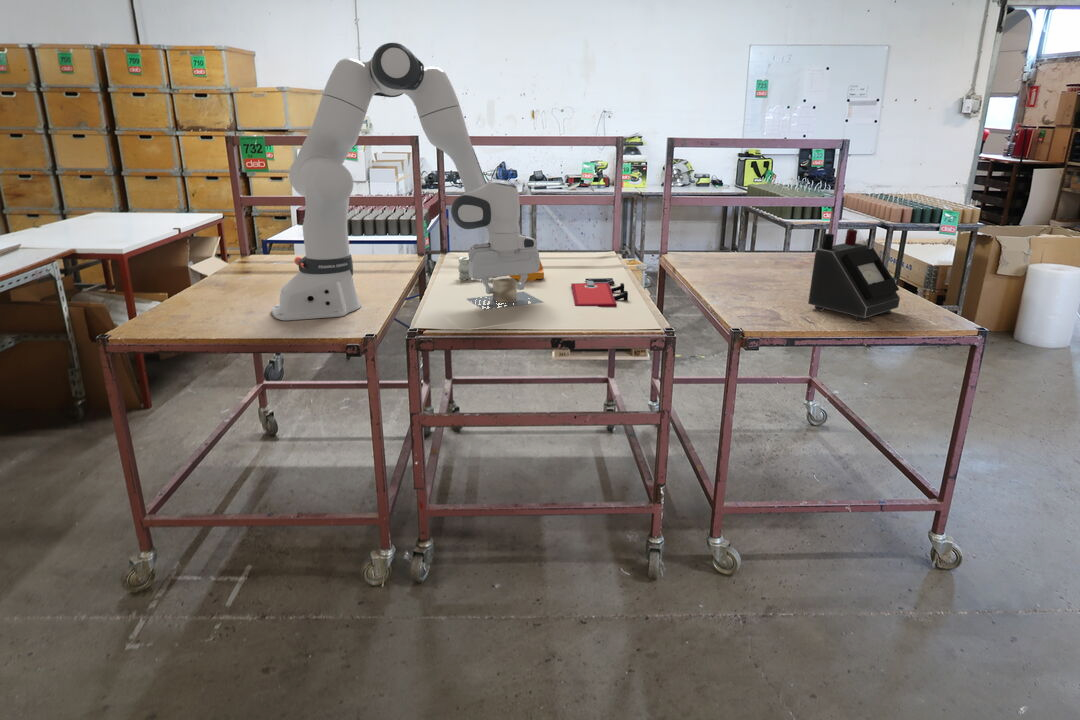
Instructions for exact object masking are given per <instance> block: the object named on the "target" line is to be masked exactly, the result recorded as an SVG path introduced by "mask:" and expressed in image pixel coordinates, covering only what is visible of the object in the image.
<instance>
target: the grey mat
mask: <svg viewBox="0 0 1080 720" xmlns="http://www.w3.org/2000/svg"><path fill="white" fill-rule="evenodd" d="M476 297H477V296H476ZM476 297H470V298H469V297H467V298H466V300H467V301H469V302H470V303H472V304H473V305H475V300H476V299H477V300H476V305H477V306H476V305H475V306H476V307H478V306H479V307H478V308H480V309H481V310H482V306H484V307H486V308H487V306H489V307H490V308H489V309H490V310H496V309H497V310H498V308H497V307H498V305H497V304H498V302H496V301H495V300H493V294H491V295H487V296H486V295H485V296H478V297H477V298H476ZM480 297H482V298H480ZM485 297H487V298H485ZM489 298H490V299H489ZM528 298H530V299H528ZM479 300H481V301H480V304H481V305H478V304H479ZM484 300H486V301H485V304H486V305H483V301H484ZM471 301H472V302H471ZM488 301H490V304H489V305H487V303H488ZM528 301H530V302H531V304H530V305H532V304H533V305H534V304H541V303H544V301H543V300H541V299H539V298H537V297H535V296H533V295H531V294H529V293H527V292H525V291H519V292H517V301H516V302H509V303H506V304H505V303H504V304H502V305H499V306H502V307H503V308H504V305H507V306H506V307H505V308H509V307H510V308H511V307H518V306H519V307H520V306H525V305H529V304H528ZM496 303H497V304H496ZM513 303H514V305H513ZM486 308H484V309H483V310H482V311H488V309H487V310H486ZM493 308H495V309H493ZM503 308H502V309H503Z"/></svg>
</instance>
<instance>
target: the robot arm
mask: <svg viewBox="0 0 1080 720" xmlns="http://www.w3.org/2000/svg"><path fill="white" fill-rule="evenodd" d="M322 92H323V93H322V96H321V98H320V101H319V104H318V107H317V110H316V114H315V117H314V119H313V122H312V125H311V127H310V129H309V132H308V134H307V135H306V137H305V139H304V141H303V143H302V145H301V147H300V148H299V151H298V153H297V155H296V158H295V160H294V161H293V162H292V164H291V165H290V167H289V170H288V179H289V182H290V184H291V186H292V188H293V189H294V191H295V192H296V193H297V194H299V195H300V196H302V197H304V199H305V200H304V201H305V204H304V205H305V207H304V208H305V209H304V219H303V223H302V237H303V244H304V245H303V247H304V253H305V256H304V257H302V258H301V257H300V256H296V257H295V258H294V260H293V261H294V263H295V265H296V266H298V271H299V272H297V273H296V275H294V276H293V277H292V278H291V279H290V280H288V282H287V283H285V284H284V285H283V286H282V287H281V289H280V294H279V303H277V304H275V305H274V306H272V307H271V314H272V316H273V317H274V318H275V319H278V320H281V321H296V320H297V321H298V320H309V319H320V318H321V319H323V318H325V319H326V318H335V317H336V318H337V317H338V318H339V317H344V316H346V315H347V314H348V313H352V312H354V311H356V310H358V309H359V308H361V306H362V305H361V302H360V300H359V297H358V294H357V291H356V287H355V282H354V277H353V275H354V262H353V257H352V254H351V253H350V241H349V231H348V230H349V229H348V219H349V215H348V214H349V206H350V197H351V194H352V193H353V189H354V179H353V176H352V174H351V172H350V170H349V169H348V168H347V167H346V166H345V165H344V162H345V160H346V158H347V157H348V155H349V153H350V152H351V150H353V148H354V147H355V145H356V144H357V141H358V140H359V137H360V133H361V130H362V127H363V124H364V121H365V118H366V114H367V113H368V109H369V106H370V103H371V100H372V99H373V96H377V97H385V98H396V97H400V96H402V95H406V96H407V97H409V99H410V100H411V101H412V102H413V106H415V108H416V113H417V115H418V118H419V122H420V126H421V127H422V131H423V132H424V134H425V135H426V137H427V139H428V141H429V143H430V145H432V146H433V147H435V148H437V149H438V150H440V151H442V152H444V154H446V155H447V156H449V158H450V159H451V161H452V162H453V164H454V166H455V168H456V170H457V173H458V175H459V178H460V182H461V184H462V187H463V189H464V193H462V194H461V195H459V196H458V197H456V198H455V199H454V200H453V202H452V204H451V209H450V210H451V217H452V220H453V221H454V223H455V224H456V225H457V226H458V227H460V228H461V229H463V230H476V229H480V228H486V230H487V243H481V244H477V243H476V244H473V245H471V247H469V249H468V252H467V253H468V257H469V276H470V277H471V279H473V280H476V281H477V280H478V281H479V280H481V282H482V284H483V285H484V287H485V293H486V294H487V295H493V286H490V284H489V282H490V279H492V278H495V277H497V278H500V277H508V276H511V275H519V274H520V276H521V279H520V281H519V282H516V283H517V291H522V290H525V283H526V282H527V281H526V280H527V278H528V273H536V272H538V270H539V269H540V261H541V258H540V252H539V249H538V248H537V246H538V240H537V239H536V238H532V237H530V236H527V235H524V234H521V228H520V221H519V220H520V217H521V207H520V206H521V205H520V196H519V195H520V194H519V189H518V186H516V185H515V183H513V182H511V181H509V180H506V179H505V180H504V179H494V178H493V179H490V180H488V181H487V180H486V179H485V176H484V173H483V171H482V168H481V166H480V162H479V160H478V157H477V154H476V152H475V149H474V147H473V145H472V142H471V138H470V135H469V132H468V129H467V125H466V121H465V118H464V114H463V112H462V109H461V105H460V102H459V100H458V99H459V98H458V96H457V94H456V90H454V87H453V85H452V82H451V81H450V78H449V77H448V75H447V73H446V72H445V71H444V70H443V69H442V68H440V67H437V66H427V67H425V65H424V64H423V62H422V61H421V60H420V59H419V58H418V57H417V56H416V55H415V54H414V53H413V52H412V51H411V49H409V48H408V47H407V46H405V45H403V44H402V43H399V42H396V41H395V42H394V41H391V42H386V43H383V44H382V45H380V46H378V48H376V50H375V51H374V53H373V55H372V57H371V58H370V60H369V61H360V60H359V59H355V58H348V57H347V58H343V59H342V58H341V59H340V60H339V61H338V62H337V63H336V65H335V66H334V68H333V69H332V71H331V72H330V75H329V77H328V79H327V82H326V85H325V87H324V89H323V91H322Z"/></svg>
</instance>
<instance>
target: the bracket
mask: <svg viewBox="0 0 1080 720" xmlns="http://www.w3.org/2000/svg"><path fill="white" fill-rule="evenodd" d="M509 277H511V278H513V279H515V280H517V281H519V282H520V279H521V276H520V274H519V275H511V276H509ZM544 278H545V271H544V267H543V263H542V262H541V260H540V269H539V270H538V272H536V273H528V278H527V280H526V282H527V281H529V282H531V281H537V280H540V279H541V280H542V279H544Z"/></svg>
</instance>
